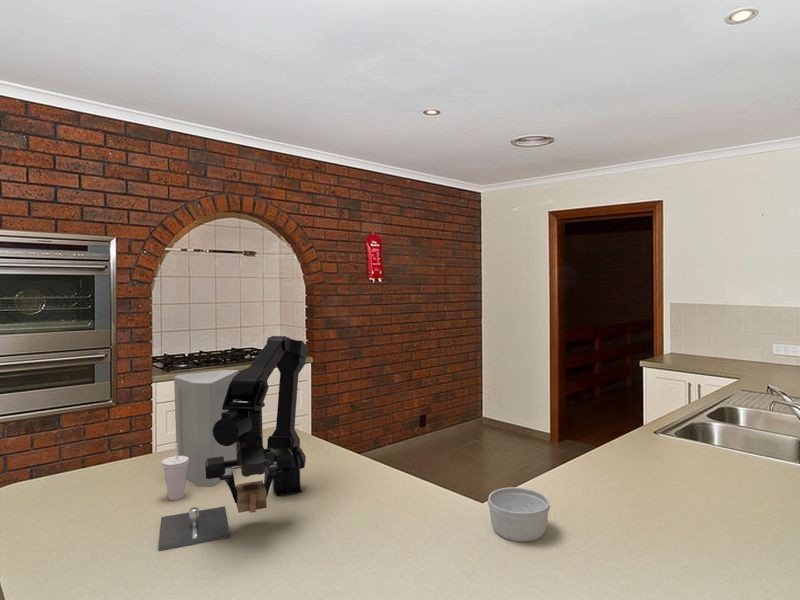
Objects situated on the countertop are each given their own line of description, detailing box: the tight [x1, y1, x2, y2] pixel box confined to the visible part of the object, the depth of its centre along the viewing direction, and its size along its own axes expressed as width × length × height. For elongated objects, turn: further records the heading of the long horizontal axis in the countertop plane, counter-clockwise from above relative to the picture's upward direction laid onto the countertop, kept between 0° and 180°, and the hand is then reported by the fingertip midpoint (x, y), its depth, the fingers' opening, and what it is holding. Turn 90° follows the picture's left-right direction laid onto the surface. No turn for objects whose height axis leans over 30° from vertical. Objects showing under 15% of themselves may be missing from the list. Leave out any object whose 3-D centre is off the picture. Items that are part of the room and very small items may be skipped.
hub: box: [157, 505, 231, 552], centre depth 116 cm, size 14×14×4 cm
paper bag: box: [173, 369, 240, 488], centre depth 149 cm, size 19×15×28 cm
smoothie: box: [161, 443, 189, 501], centre depth 133 cm, size 6×6×14 cm
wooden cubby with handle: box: [235, 479, 268, 514], centre depth 116 cm, size 6×7×4 cm
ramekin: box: [487, 486, 551, 543], centre depth 114 cm, size 13×13×7 cm
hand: (250, 500), depth 117 cm, fingers closed on wooden cubby with handle, 6 cm apart
